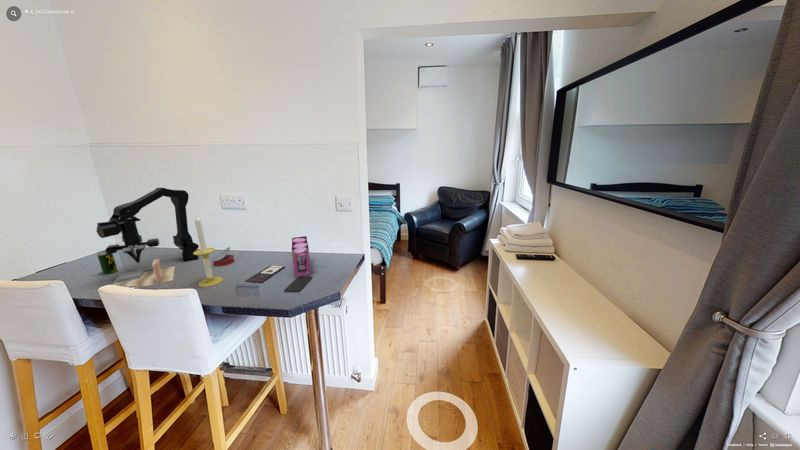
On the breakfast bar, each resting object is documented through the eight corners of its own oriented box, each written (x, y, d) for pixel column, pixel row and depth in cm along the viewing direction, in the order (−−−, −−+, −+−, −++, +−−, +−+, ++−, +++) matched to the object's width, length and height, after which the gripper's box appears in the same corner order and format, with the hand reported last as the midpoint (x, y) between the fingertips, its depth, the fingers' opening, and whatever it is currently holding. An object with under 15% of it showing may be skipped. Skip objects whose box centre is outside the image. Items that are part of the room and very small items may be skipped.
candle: (207, 277, 140) (193, 212, 131) (227, 277, 139) (214, 211, 131) (192, 287, 130) (176, 217, 121) (214, 286, 129) (199, 216, 121)
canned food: (230, 272, 156) (224, 260, 149) (212, 271, 156) (205, 259, 149) (240, 256, 164) (234, 245, 158) (223, 255, 164) (216, 243, 158)
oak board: (175, 266, 154) (175, 266, 154) (172, 280, 137) (172, 280, 137) (117, 278, 141) (117, 277, 141) (106, 295, 124) (106, 294, 124)
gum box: (311, 276, 138) (308, 249, 134) (294, 279, 135) (290, 252, 132) (309, 259, 160) (306, 235, 156) (294, 261, 157) (291, 237, 154)
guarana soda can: (100, 276, 144) (93, 254, 141) (108, 272, 149) (101, 250, 146) (113, 275, 145) (106, 252, 142) (120, 270, 150) (114, 249, 147)
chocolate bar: (245, 280, 134) (269, 265, 151) (245, 282, 134) (270, 267, 151) (262, 282, 132) (285, 266, 149) (262, 284, 132) (285, 268, 149)
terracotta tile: (163, 275, 142) (159, 258, 139) (161, 281, 135) (157, 263, 133) (158, 276, 141) (154, 259, 138) (156, 282, 134) (152, 264, 132)
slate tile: (142, 269, 145) (118, 274, 140) (139, 275, 139) (114, 280, 134) (143, 273, 146) (119, 277, 141) (140, 278, 139) (115, 283, 134)
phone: (313, 276, 137) (299, 291, 122) (313, 278, 137) (299, 293, 122) (298, 276, 137) (282, 290, 123) (298, 277, 138) (283, 292, 123)
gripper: (156, 225, 148) (164, 253, 152) (107, 231, 138) (116, 261, 142) (154, 229, 139) (162, 259, 143) (100, 237, 129) (110, 269, 133)
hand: (138, 262), depth 141 cm, fingers closed
